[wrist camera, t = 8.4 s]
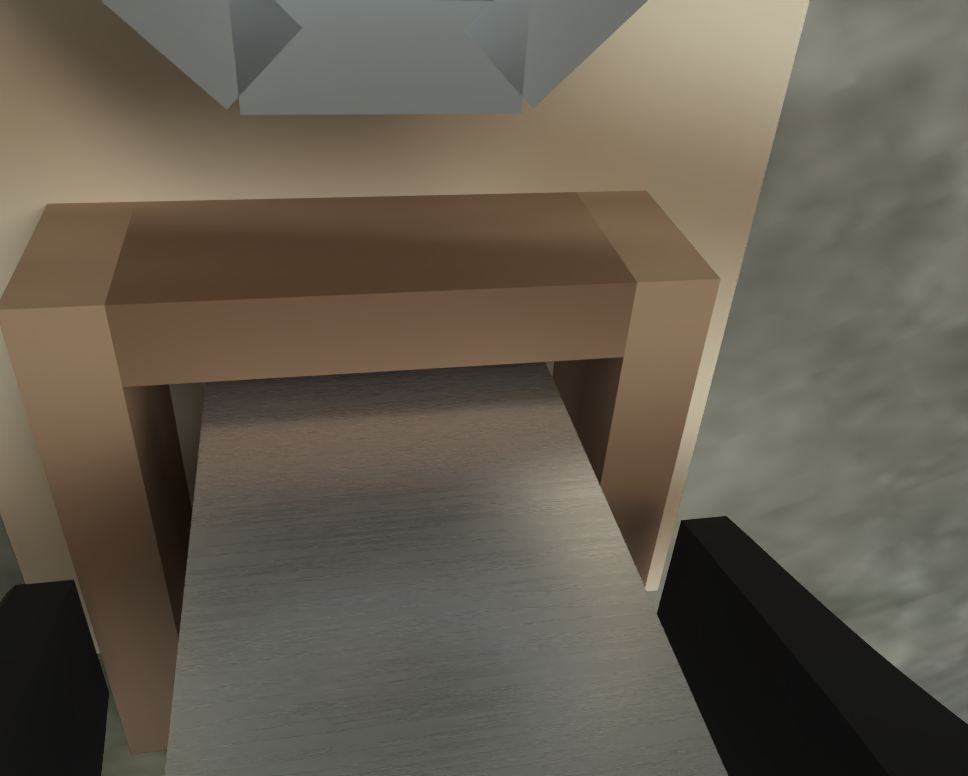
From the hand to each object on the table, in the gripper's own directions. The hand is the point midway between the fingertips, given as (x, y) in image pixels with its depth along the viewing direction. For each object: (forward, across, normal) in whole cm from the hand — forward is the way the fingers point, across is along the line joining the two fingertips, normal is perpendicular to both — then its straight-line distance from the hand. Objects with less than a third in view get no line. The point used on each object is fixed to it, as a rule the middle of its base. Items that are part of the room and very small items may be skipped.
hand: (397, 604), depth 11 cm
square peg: (+3, 0, 0) cm, 3 cm away
